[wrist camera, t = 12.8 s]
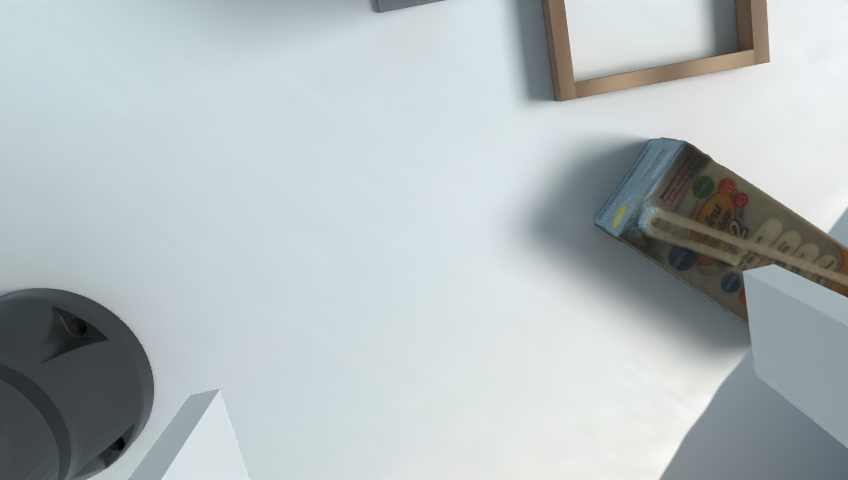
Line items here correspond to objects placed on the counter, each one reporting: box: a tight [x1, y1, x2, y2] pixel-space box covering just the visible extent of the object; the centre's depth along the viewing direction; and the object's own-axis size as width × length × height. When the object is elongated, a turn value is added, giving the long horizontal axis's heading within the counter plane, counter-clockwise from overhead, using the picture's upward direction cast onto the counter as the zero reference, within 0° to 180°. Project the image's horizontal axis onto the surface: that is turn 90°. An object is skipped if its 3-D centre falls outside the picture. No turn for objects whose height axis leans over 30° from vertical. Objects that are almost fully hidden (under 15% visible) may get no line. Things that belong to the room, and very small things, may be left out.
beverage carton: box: [594, 137, 848, 326], centre depth 43 cm, size 8×19×7 cm, turn 58°
